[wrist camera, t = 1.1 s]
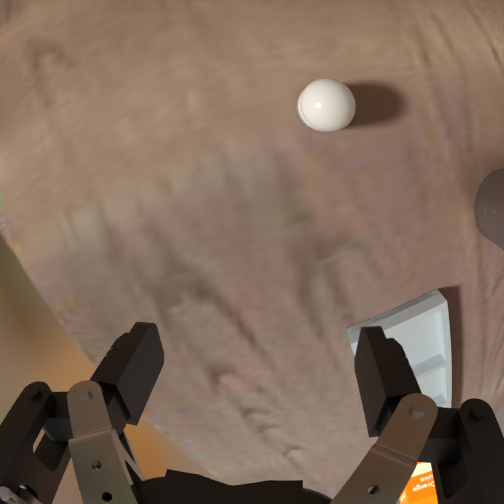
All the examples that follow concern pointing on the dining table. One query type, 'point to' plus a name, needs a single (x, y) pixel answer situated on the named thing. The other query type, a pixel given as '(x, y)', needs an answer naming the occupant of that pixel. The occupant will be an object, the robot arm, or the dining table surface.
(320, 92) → the cream egg
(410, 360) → the white divided tray
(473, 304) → the dining table surface
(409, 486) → the orange juice
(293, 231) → the dining table surface
